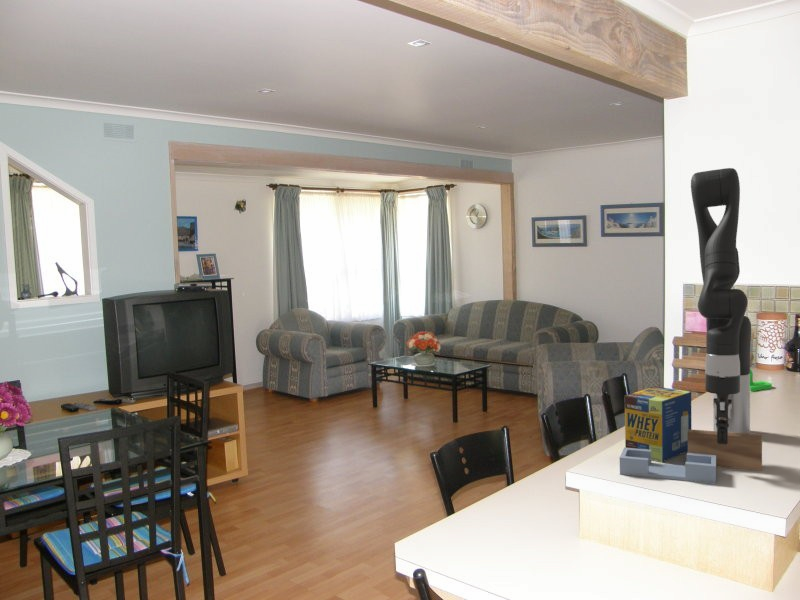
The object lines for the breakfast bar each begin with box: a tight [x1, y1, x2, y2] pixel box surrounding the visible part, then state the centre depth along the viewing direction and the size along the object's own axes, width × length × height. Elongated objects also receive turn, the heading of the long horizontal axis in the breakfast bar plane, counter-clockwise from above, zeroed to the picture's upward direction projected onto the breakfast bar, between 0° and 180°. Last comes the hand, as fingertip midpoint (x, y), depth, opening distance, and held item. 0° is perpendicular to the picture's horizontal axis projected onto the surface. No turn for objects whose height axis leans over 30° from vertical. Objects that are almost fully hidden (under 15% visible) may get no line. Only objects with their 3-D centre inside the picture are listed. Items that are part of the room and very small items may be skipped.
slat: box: [687, 428, 763, 471], centre depth 163 cm, size 3×16×8 cm, turn 65°
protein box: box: [624, 385, 692, 463], centre depth 175 cm, size 10×15×16 cm
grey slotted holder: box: [619, 447, 717, 484], centre depth 159 cm, size 8×21×4 cm, turn 65°
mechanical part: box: [750, 368, 772, 392], centre depth 243 cm, size 12×6×8 cm, turn 111°
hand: (722, 439), depth 163 cm, fingers open, 8 cm apart
